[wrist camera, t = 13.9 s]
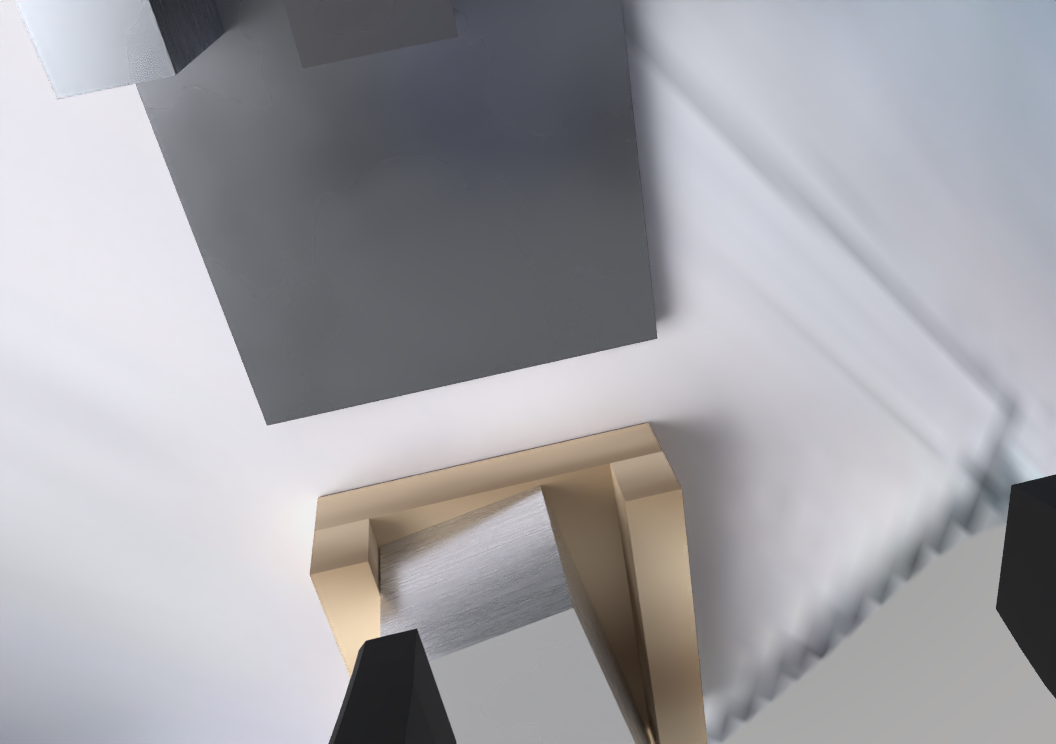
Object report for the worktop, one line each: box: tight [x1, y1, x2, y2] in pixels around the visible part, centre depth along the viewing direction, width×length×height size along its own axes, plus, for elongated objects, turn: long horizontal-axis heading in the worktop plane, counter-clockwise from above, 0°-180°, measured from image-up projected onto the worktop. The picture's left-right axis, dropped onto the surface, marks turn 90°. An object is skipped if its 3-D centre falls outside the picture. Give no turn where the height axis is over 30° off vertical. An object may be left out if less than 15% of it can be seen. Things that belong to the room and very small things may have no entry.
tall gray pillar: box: [380, 485, 652, 744], centre depth 20 cm, size 9×4×4 cm, turn 20°
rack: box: [310, 423, 707, 744], centre depth 21 cm, size 10×8×3 cm
